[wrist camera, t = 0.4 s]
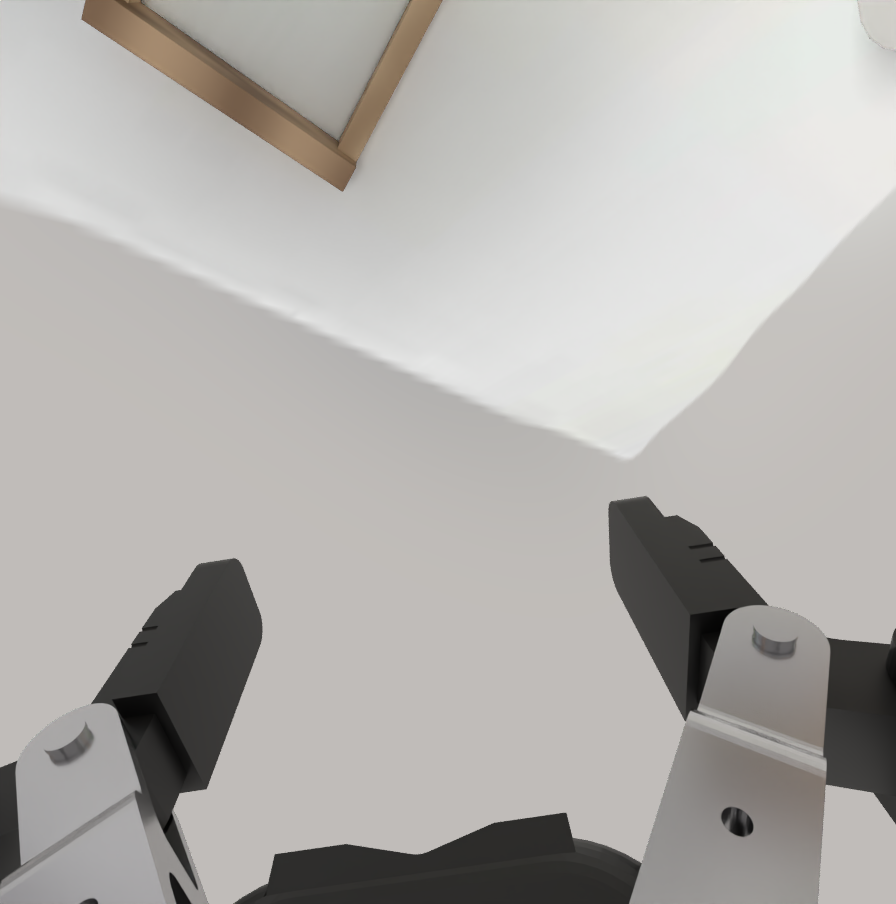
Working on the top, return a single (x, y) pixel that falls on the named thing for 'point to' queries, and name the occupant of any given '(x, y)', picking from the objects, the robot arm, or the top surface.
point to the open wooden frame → (247, 103)
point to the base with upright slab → (879, 21)
